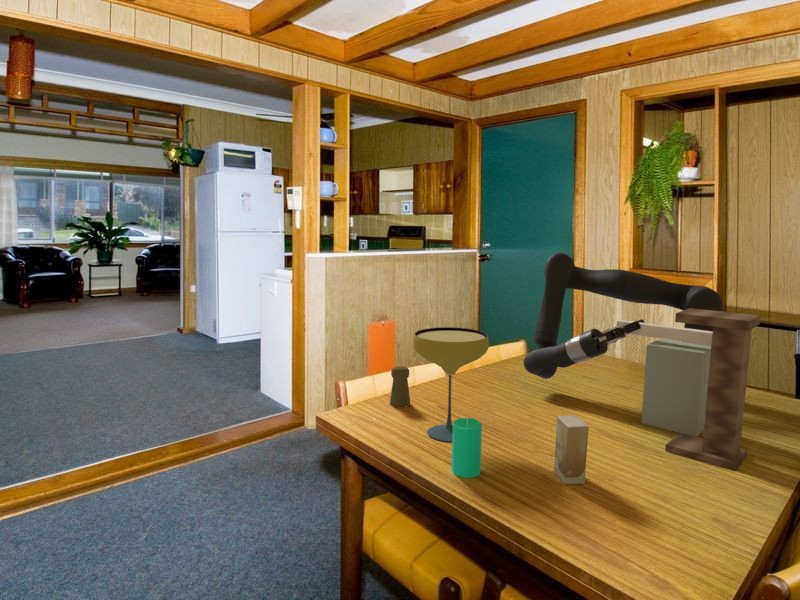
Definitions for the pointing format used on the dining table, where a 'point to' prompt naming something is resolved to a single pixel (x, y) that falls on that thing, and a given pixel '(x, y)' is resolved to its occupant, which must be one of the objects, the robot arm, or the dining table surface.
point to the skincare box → (571, 449)
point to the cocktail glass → (449, 359)
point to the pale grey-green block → (676, 386)
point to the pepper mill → (400, 387)
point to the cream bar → (671, 333)
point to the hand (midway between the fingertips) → (641, 323)
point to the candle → (466, 447)
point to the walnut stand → (721, 389)
